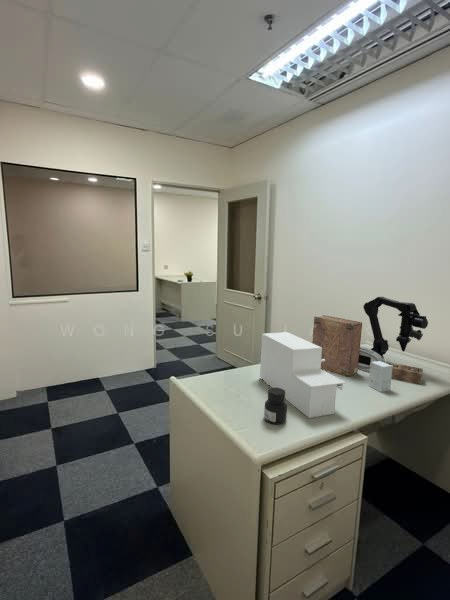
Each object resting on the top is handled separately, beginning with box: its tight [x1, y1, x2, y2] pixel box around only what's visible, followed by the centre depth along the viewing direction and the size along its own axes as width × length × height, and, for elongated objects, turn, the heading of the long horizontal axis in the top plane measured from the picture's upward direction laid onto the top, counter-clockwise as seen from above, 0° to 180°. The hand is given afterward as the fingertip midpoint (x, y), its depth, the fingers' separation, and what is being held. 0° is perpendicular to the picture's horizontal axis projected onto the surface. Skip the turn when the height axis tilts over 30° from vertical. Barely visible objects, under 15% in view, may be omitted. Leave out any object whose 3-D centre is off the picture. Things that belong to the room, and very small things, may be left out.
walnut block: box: [385, 361, 424, 386], centre depth 177 cm, size 18×10×6 cm, turn 56°
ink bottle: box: [263, 387, 288, 425], centre depth 128 cm, size 10×9×12 cm
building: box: [259, 331, 347, 419], centre depth 152 cm, size 45×18×25 cm, turn 21°
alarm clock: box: [358, 346, 385, 373], centre depth 191 cm, size 23×6×13 cm, turn 42°
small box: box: [368, 361, 393, 393], centre depth 162 cm, size 8×6×13 cm
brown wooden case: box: [311, 315, 363, 378], centre depth 187 cm, size 25×9×30 cm, turn 40°
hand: (403, 351), depth 185 cm, fingers closed
